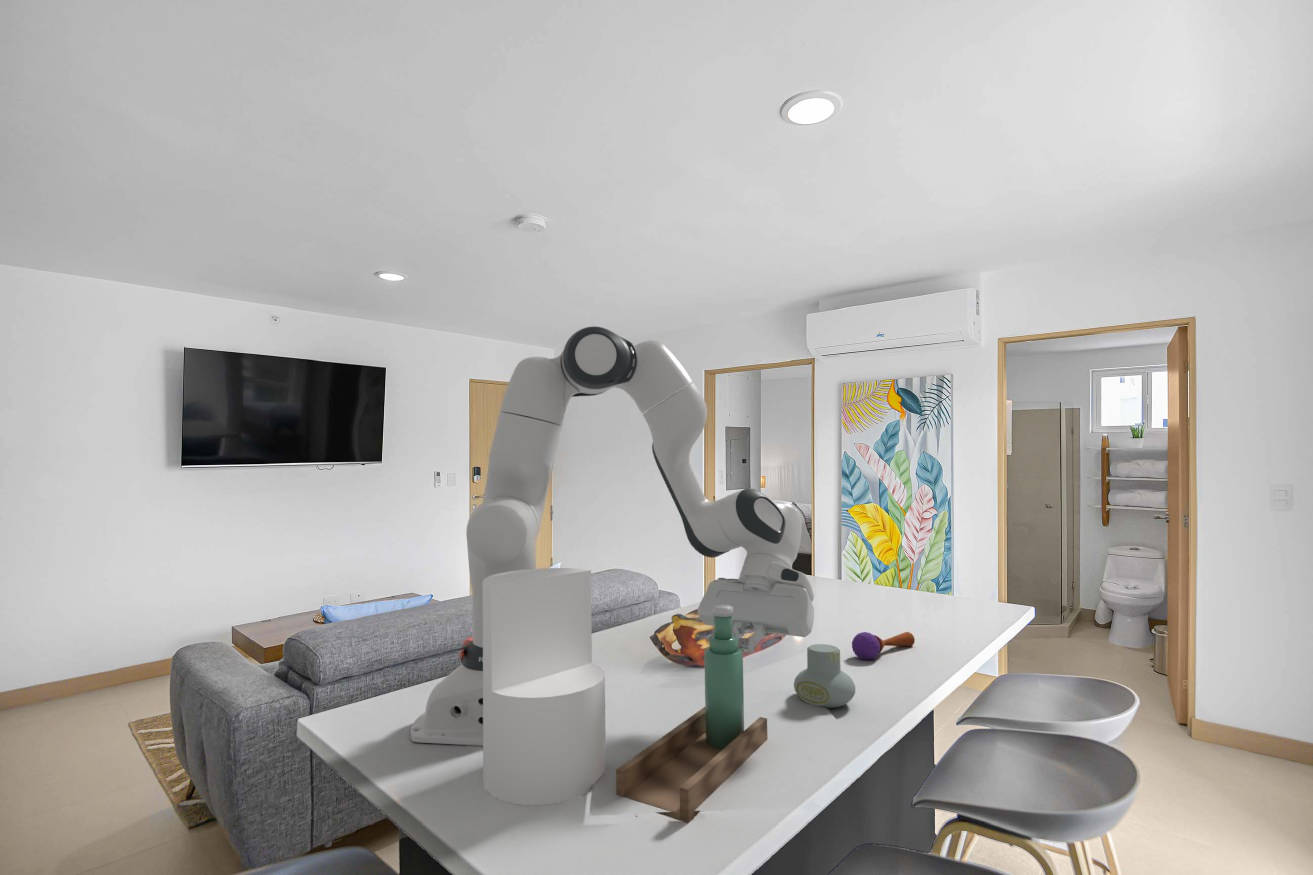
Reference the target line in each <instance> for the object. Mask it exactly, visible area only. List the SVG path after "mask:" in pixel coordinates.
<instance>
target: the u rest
mask: <svg viewBox="0 0 1313 875" xmlns="http://www.w3.org/2000/svg"><path fill="white" fill-rule="evenodd" d="M767 741H768V718H766V717H761V716H759V717H758V718H756V720H755V721H754V722H752V723H751V724H750V725H749V726H748V727H747V728H746V729H744V731H743V732H742V733H741V734H740V735H739V736H738V737H737V738H735V739H734V740H733V741H732V742H731V743H730V744H729V745H727V746H726V747H725V748H724V749H716V748H713V747H711V746H709V745H708V744H707V743H706V722H705V706H704V707H702V708H701V709H700V710H698V711H696V713H694V714H692V715H691V716H690V717H688V718H687V719H685V720H684V721H682V722H681V723H679V724H678V725H677V726H676V727H675V728H673V729H671V730H670V731H668V732H667V733H665V734H664V735H663V736H661V737H659V738H658V739H657V740H656V741H654V742H653V743H651V744H650V745H648V746H647V747H646V748H645V749H643V750H642V751H641V752H638V754H636V755H634V757H632V758H631V759H629V760H628V761H626V762H625V763H624V764H622V765H621V766H619V767H617V769H616V770H615V775H616V776H615V783H616V784H615V785H616V786H615V789H616V795H617V796H619V797H621V798H626V799H629V800H632V801H635V802H638V803H639V802H640V803H642V804H645V805H649V806H652V807H656V808H659V809H662V810H665V811H661V812H660V811H658V812H655V811H654V812H655V813H656V814H659V815H662V816H665V817H669V818H670V819H671V818H672V819H675V820H678V821H681V822H685V823H687V824H690V822H691V821H693V820H694V819H695V817H696V816H698V815H699V813H700V812H701V810H697V809H698V808H699V807H700V806H701V805H702V804H703V803H704V802H705V801H707V799H708V798H710V797H711V796H712V794H713V793H715V791H717V789H719V788H720V787H721V786H722V785H723V784H724V783H725V782H726V781H727V780H728V779H729V777H731V776H732V775H733V774H734V773H735V772H736V771H737V770H738V769H739V768H740V767H741V766H743V764H745V762H746V761H747V760H749V758H751V756H752V755H753V754H754V753H755V752H756V751H758V749H759V748H761V746H762V745H763V744H765V743H766V742H767Z"/></svg>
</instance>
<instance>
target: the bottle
mask: <svg viewBox="0 0 1313 875" xmlns="http://www.w3.org/2000/svg"><path fill="white" fill-rule="evenodd" d="M713 615H714V626H713V633H714V634H711V635H709V638H708V639H709V640H708V643H709V644H708V647H706V648H704V652H703V653H704V655H703V656H704V658H703V659H704V700H705V701H704V707H705V722H706V743H707V744H708V745H709V746H711V747H713V748H716V749H724V748H725V747H726V746H727V745H729V744H730V743H731V742H732V741H733V740H734V739H735V738H737V737H738V736H739V735H740V734H741V733H742V732H743V731H745V706H744V705H745V704H744V703H745V702H744V699H745V698H744V697H745V696H744V652H743V650H742V649H741V648H738V646H737V637H736V636H735V635H734V634H733V628H732V615H733V606H730V605H715V606H713Z"/></svg>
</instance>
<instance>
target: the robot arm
mask: <svg viewBox="0 0 1313 875" xmlns="http://www.w3.org/2000/svg"><path fill="white" fill-rule="evenodd" d="M613 388H614V389H615V388H616V389H620V390H623V391H624V392H626V394H627V395H629V396H630V398H631V399H632V400H633V401H634V402H635V405H636V406H637V408H638V409H639V412H640V413H641V414H642V416H643V418H644V420H645V422H646V424H647V426H648V428H649V430H650V431H649V432H650V434H651V438H652V444H651V450H652V455H653V458H654V461H655V463H656V466H657V468H658V471H659V474H660V475H661V476H662V479H663V481H664V483H665V485H666V487H667V490H668V492H669V494H670V496H671V498H672V501H673V503H674V505H675V507H676V509H677V511H678V513H679V515H680V518H681V521H682V524H683V527H684V532H685V534H686V537H687V540H688V542H689V544H690V545H691V547H693V549H694V550H695V551H696V552H697V553H698V554H700V555H702V556H704V557H707V558H711V559H712V558H713V559H714V558H717V557H719V556H722V555H724V554H726V553H728V552H730V551H732V550H735V549H738V548H741V547H742V548H743V549H744V550H745V552H746V556H745V559H744V561H743V565H742V567H741V570H740V573H739V576H738V578H726V577H718V578H717V579H714V580H713V581H710V582H709V584H708V586H707V588H706V591H705V593H704V595H703V597H702V599H701V601H700V603H699V606H698V607H697V614H698V616H699V618H700V620H701V621H702V623H703V624H704V625H705V626H712V627H714V615H713V606H715V605H730V606H733V615H732V629H733V631H734V634H735V635H734V636H736V637H737V646H738V648H741V649H742V650H743V653H749V654H753V653H754V651H755V648H756V646H757V645H758V644H759V643H760V642H761V641H762V640H763V639H765V637H766V633H768V634H774V635H775V634H776V635H785V636H793V637H800V638H806V637H808V636H809V635H810V634H812V630H813V627H814V626H813V625H814V619H815V608H814V604H813V601H814V598H815V596H814V594H815V593H814V591H813V587H812V585H811V582H810V581H809V579H808V577H807V576H806V573H803V572H802V571H798V570H795V569H794V568H793V564H794V562H795V561H796V560H797V557H798V554H799V549H800V545H801V542H802V541H801V540H802V532H803V525H802V524H803V523H802V518H801V515H800V513H799V512H798V510H796V508H794V506H792V505H790V504H789V503H786V502H783V501H772V500H771V499H770V498H769V497H768V496H767V495H765V494H764V493H762V492H761V491H760V490H757V489H756V488H748V487H747V488H744V489H741V490H739V491H736V492H734V493H731V494H729V495H727V496H724V497H723V498H720V499H717V500H714V501H711V500H708V498H707V497H706V496H705V494H704V491H703V489H702V487H701V485H700V483H699V481H698V479H697V477H696V474H695V472H694V470H693V468H692V465H691V462H690V454H691V452H692V448H693V446H694V444H695V443H696V442H697V440H698V438H699V437H700V436H701V434H702V433H703V430H704V428H705V425H706V424H707V418H708V407H707V403H706V400H705V399H704V397H703V394H702V393H701V391H700V389H699V388H698V387H697V384H696V383H695V382H694V381H693V378H692V377H691V376H690V374H689V372H688V371H687V370H686V368H685V367H684V365H683V364H682V363H681V362H680V361H679V359H678V358H677V357H676V356H675V354H674V353H673V352H672V351H671V350H670V349H669V348H668V347H667V345H665V344H664V343H663V342H661V341H658V340H645V341H641V342H638V343H636V344H634V343H633V342H631V341H630V340H627V339H625V338H624V337H622V336H620V335H619V334H617V333H615V332H614V331H612V330H610V329H608V328H605V327H601V326H593V325H592V326H587V327H583V328H581V329H579V330H577V331H576V332H574V333H573V334H572V335H571V336H570V337H569V338H568V340H567V342H566V343H565V346H564V348H563V351H561V353H560V354H559V355H558V356H557V357H553V358H548V357H544V356H530V357H527V358H524V359H521V361H519V362H518V364H517V365H516V367H515V369H514V370H513V372H512V375H511V377H510V379H509V380H508V383H507V387H506V390H505V393H504V394H503V395H504V396H503V399H502V402H501V405H500V410H499V414H498V417H497V422H496V424H495V430H494V433H493V439H492V442H491V447H490V450H489V454H488V464H487V465H488V466H487V473H486V480H485V481H486V482H485V487H484V492H483V497H482V503H481V504H479V505H477V507H476V508H475V509H473V511H472V513H471V514H470V516H469V518H468V521H467V525H466V529H465V530H466V544H467V546H466V547H467V558H468V569H469V570H468V571H469V579H470V585H471V586H470V587H471V595H472V596H471V597H472V598H471V599H472V637H468V638H466V640H464V642H463V645H462V647H461V649H460V651H459V654H460V655H459V659H460V663H461V664H460V665H459V666H458V667H456V668H455V669H454V670H453V671H451V672H450V673H449V674H448V675H447V676H445V677H444V678H443V679H442V680H440V682H438V683H437V684H436V686H435V687H434V688H433V689H432V690H431V692H430V694H429V696H428V699H427V701H426V706H425V711H424V712H423V713H422V714H420V715H419V716H418V717H417V718H416V719H415V720H414V722H413V724H412V725H411V727H410V740H411V741H412V742H413V743H414V742H415V743H423V744H424V743H425V744H443V745H446V744H447V745H462V746H463V745H464V746H465V745H466V746H480V747H481V746H482V747H483V580H484V579H485V578H487V577H489V576H491V575H495V574H499V573H504V572H510V571H518V570H527V569H537V561H536V558H537V557H536V539H537V537H538V535H539V532H540V527H541V524H542V521H543V520H542V519H543V514H544V510H545V505H546V501H547V500H546V499H547V496H548V490H549V486H550V485H549V484H550V480H551V475H552V470H553V466H554V461H555V457H556V452H557V448H558V443H559V440H560V436H561V431H562V426H563V424H564V418H565V413H566V411H567V410H566V409H567V407H568V404H569V402H570V400H571V398H573V397H576V398H577V397H593V396H597V395H600V394H604V393H606V392H607V391H609V390H611V389H613ZM746 631H752V632H753V633H752V634H751V635H750V637H749V638H745V637H742V635H745V634H746Z"/></svg>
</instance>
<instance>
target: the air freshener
mask: <svg viewBox="0 0 1313 875" xmlns="http://www.w3.org/2000/svg"><path fill="white" fill-rule="evenodd" d="M806 648H807V649H806V650H807V651H806V653H807V654H806V656H807V657H806V658H807V659H806V660H807V662H806V664H807V666H806V667H807V668H805V669H803V670H801V671H800V672H798V674H797V675H796V676H795V678H794V682H793V687H794V691H795V693H796V695H797V697H799V698H800V699H801V700H802V701H803V702H804V703H807V704H810V705H812V706H816V707H821V708H822V707H825V708H826V709H835V708H840V707H842V706H845V705H846V704H848V703H849V702H850V701H852V699H853V698H854V697H855V694H856V684H855V682H854V681H853V679H852V678H851V677H850V675H848V674H847V673H846V672H844V671H843V670H841V650H840V649H839V648H838V646H835V645H832V644H827V643H826V644H823V643H821V644H820V643H819V644H818V643H817V644H816V643H815V644H812V645H809V646H808V647H806Z"/></svg>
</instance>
